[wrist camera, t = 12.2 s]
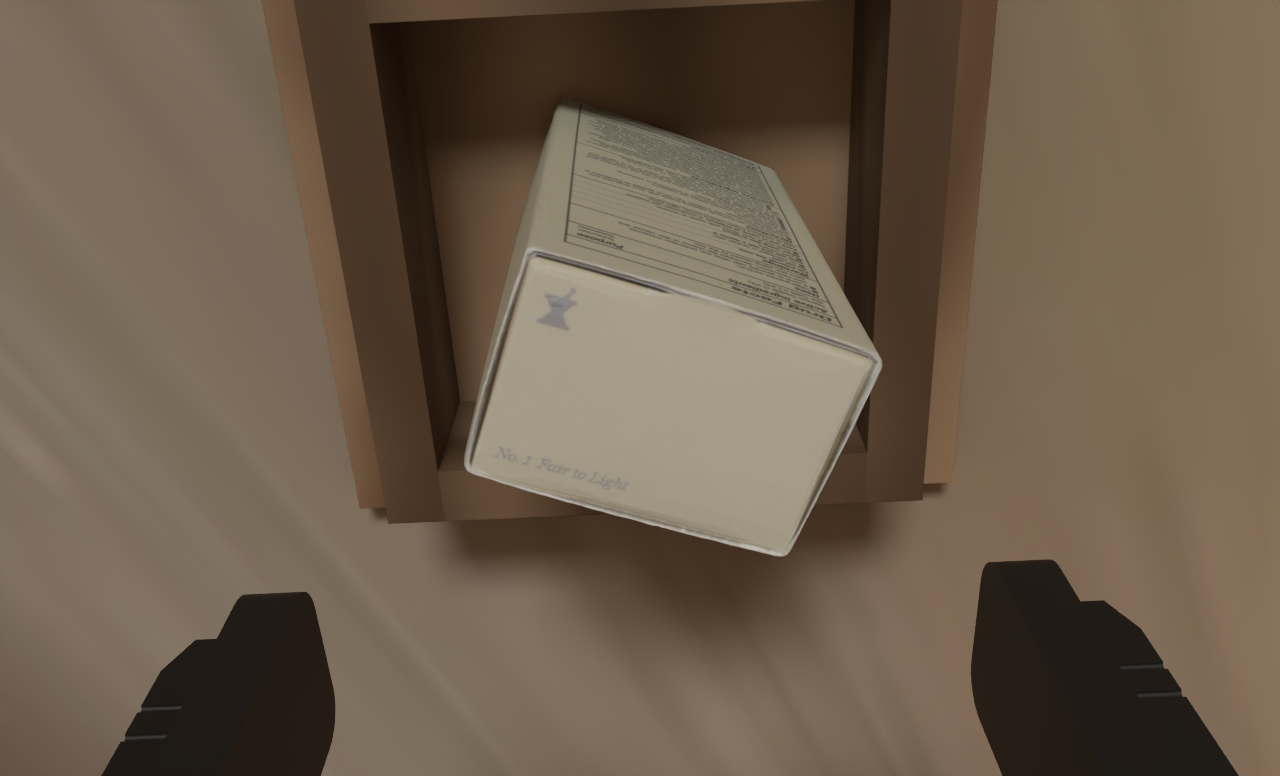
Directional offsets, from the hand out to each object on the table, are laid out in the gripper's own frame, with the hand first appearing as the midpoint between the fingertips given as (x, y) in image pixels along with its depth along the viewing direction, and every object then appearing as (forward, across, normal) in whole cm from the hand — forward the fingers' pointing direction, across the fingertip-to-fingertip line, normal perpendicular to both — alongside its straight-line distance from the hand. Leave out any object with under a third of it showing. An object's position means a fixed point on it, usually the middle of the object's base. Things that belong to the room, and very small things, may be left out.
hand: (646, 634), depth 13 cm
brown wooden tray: (+18, 0, 0) cm, 19 cm away
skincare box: (+18, 0, 0) cm, 18 cm away
